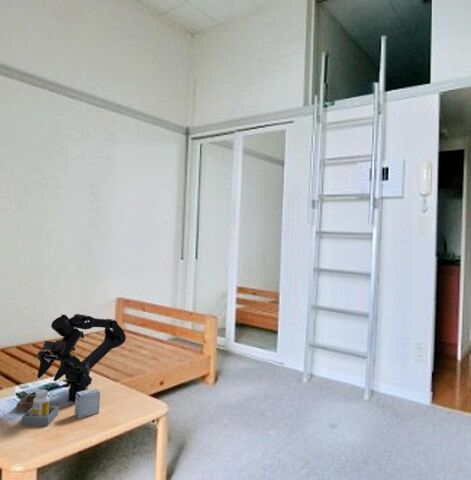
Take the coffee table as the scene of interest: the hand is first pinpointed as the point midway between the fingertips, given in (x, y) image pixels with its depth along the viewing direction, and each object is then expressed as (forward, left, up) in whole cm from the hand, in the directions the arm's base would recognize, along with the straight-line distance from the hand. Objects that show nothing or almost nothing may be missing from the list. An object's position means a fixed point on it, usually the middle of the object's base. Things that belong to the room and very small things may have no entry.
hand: (46, 379), depth 154 cm
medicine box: (-15, -2, -14) cm, 21 cm away
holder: (+7, -7, -13) cm, 17 cm away
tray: (0, +4, -13) cm, 14 cm away
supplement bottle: (0, +4, -13) cm, 14 cm away
